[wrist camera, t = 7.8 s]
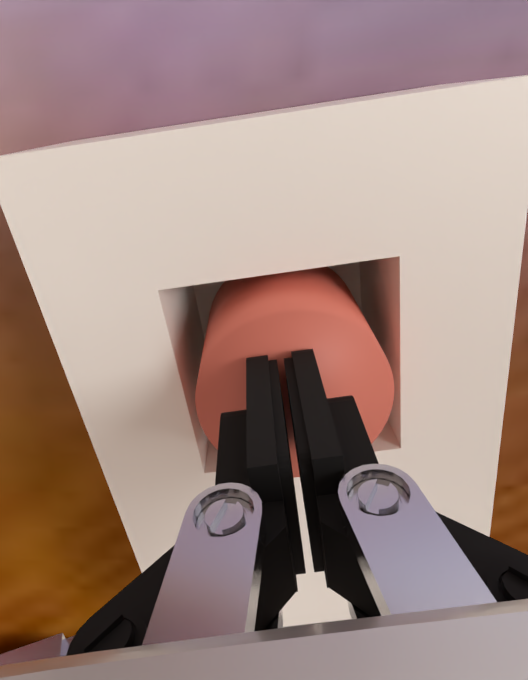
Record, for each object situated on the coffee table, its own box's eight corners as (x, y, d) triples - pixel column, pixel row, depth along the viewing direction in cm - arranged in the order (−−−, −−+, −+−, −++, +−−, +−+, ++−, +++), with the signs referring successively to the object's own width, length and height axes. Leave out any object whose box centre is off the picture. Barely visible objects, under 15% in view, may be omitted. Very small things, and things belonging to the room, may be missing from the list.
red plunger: (353, 243, 15) (393, 295, 11) (360, 379, 17) (395, 465, 13) (195, 265, 15) (175, 326, 11) (222, 397, 17) (215, 487, 13)
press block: (438, 84, 15) (543, 73, 10) (423, 608, 27) (466, 732, 22) (74, 140, 15) (-17, 158, 10) (220, 632, 28) (213, 759, 22)
